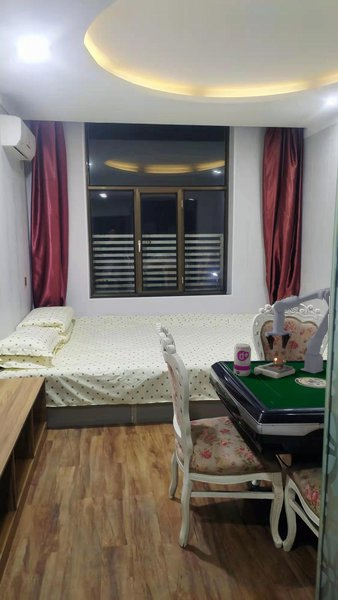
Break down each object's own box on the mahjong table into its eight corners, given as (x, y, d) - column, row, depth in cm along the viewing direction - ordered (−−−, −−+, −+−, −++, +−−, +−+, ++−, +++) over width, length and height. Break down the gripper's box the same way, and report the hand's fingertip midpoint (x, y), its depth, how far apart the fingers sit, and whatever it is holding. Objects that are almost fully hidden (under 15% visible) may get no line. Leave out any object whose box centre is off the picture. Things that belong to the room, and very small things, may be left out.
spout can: (276, 367, 220) (277, 356, 219) (287, 370, 215) (288, 358, 214) (271, 369, 216) (271, 357, 215) (282, 372, 211) (282, 360, 211)
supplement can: (249, 377, 209) (251, 347, 207) (233, 376, 211) (234, 346, 209) (250, 372, 217) (251, 343, 215) (233, 371, 219) (235, 342, 217)
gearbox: (272, 366, 228) (272, 360, 228) (294, 372, 217) (295, 366, 217) (249, 372, 216) (249, 366, 216) (271, 380, 205) (271, 373, 205)
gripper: (270, 325, 216) (269, 351, 218) (295, 324, 220) (293, 349, 222) (263, 323, 223) (262, 348, 225) (287, 321, 227) (286, 346, 229)
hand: (277, 348), depth 224 cm, fingers open, 7 cm apart
